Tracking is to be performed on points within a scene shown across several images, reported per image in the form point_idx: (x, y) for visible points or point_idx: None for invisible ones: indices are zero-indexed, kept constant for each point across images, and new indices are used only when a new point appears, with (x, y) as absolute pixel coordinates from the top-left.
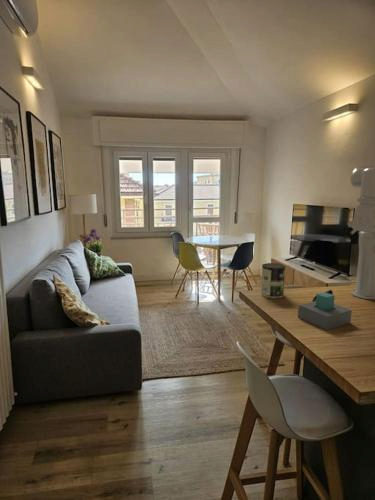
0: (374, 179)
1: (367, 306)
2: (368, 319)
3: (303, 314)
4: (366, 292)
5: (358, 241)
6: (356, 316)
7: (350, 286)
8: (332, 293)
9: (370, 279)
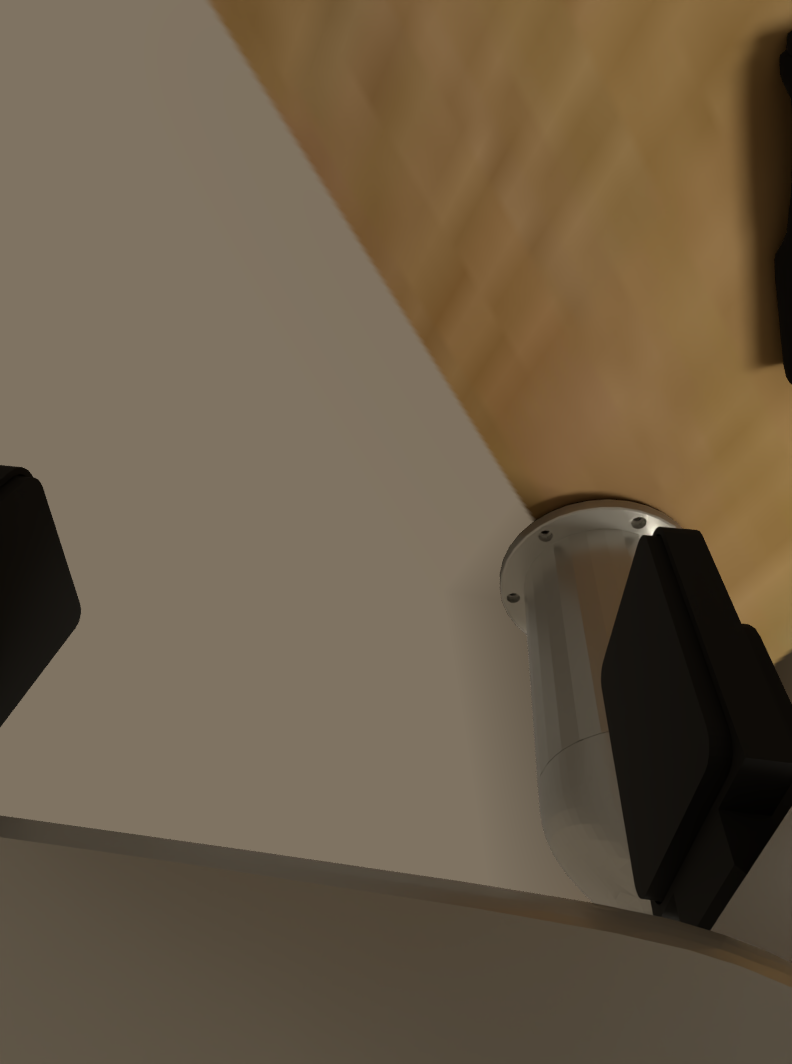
0: None
1: (470, 383)
2: (292, 108)
3: None
4: (573, 551)
5: (608, 714)
6: (379, 72)
7: None
8: (789, 375)
9: (568, 631)
